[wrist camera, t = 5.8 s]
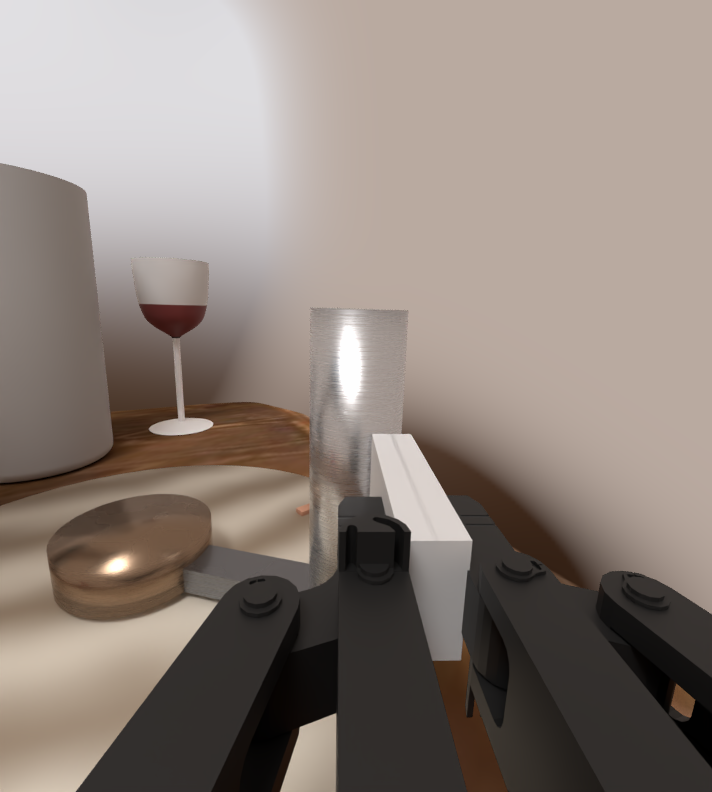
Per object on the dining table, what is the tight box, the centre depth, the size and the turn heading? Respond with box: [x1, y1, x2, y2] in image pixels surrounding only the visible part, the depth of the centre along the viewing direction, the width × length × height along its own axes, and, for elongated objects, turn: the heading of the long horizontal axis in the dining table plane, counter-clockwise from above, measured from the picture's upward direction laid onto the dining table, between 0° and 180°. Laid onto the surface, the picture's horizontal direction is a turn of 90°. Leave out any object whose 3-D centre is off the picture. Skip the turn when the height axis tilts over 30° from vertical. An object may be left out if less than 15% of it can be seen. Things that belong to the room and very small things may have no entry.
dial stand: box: [0, 465, 336, 792], centre depth 20 cm, size 28×28×2 cm
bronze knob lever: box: [46, 308, 408, 619], centre depth 18 cm, size 16×7×13 cm, turn 76°
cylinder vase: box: [0, 163, 113, 483], centre depth 36 cm, size 12×12×25 cm
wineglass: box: [131, 257, 213, 435], centre depth 49 cm, size 8×9×20 cm
